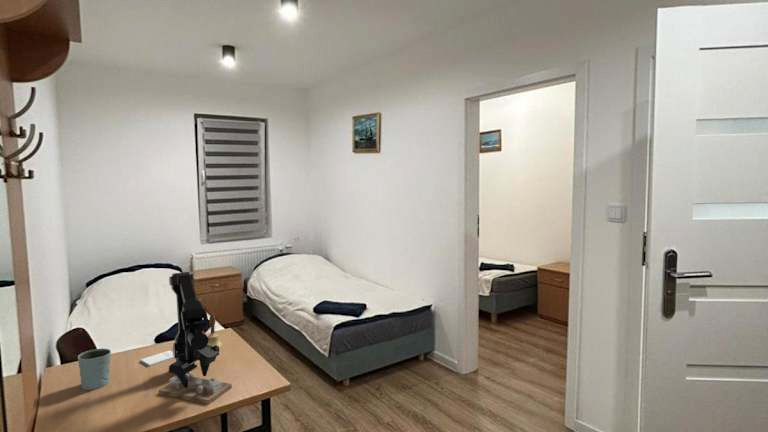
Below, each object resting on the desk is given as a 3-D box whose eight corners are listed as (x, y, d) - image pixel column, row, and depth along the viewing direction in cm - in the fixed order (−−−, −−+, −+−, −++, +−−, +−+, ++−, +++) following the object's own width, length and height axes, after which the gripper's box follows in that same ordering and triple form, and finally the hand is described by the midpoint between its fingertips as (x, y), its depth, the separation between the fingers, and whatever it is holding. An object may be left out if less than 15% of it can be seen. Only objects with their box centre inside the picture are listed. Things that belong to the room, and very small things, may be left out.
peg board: (158, 393, 150) (158, 383, 150) (184, 378, 162) (183, 368, 161) (208, 404, 144) (208, 393, 143) (231, 387, 155) (231, 377, 155)
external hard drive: (140, 363, 176) (169, 353, 186) (149, 368, 171) (179, 357, 181) (140, 359, 176) (169, 349, 186) (149, 364, 171) (179, 354, 181)
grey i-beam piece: (169, 385, 153) (169, 379, 153) (179, 379, 158) (179, 373, 157) (213, 394, 147) (213, 387, 147) (222, 388, 152) (222, 381, 151)
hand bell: (226, 343, 196) (225, 310, 194) (215, 351, 188) (214, 316, 186) (210, 342, 197) (208, 309, 196) (199, 349, 189) (198, 315, 188)
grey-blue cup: (73, 388, 154) (71, 356, 153) (99, 375, 163) (98, 346, 162) (92, 393, 150) (90, 361, 149) (118, 380, 160) (117, 350, 159)
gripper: (193, 353, 140) (194, 398, 141) (229, 334, 157) (230, 373, 159) (166, 349, 143) (168, 392, 144) (205, 330, 161) (206, 369, 162)
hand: (195, 381), depth 152 cm, fingers open, 9 cm apart
